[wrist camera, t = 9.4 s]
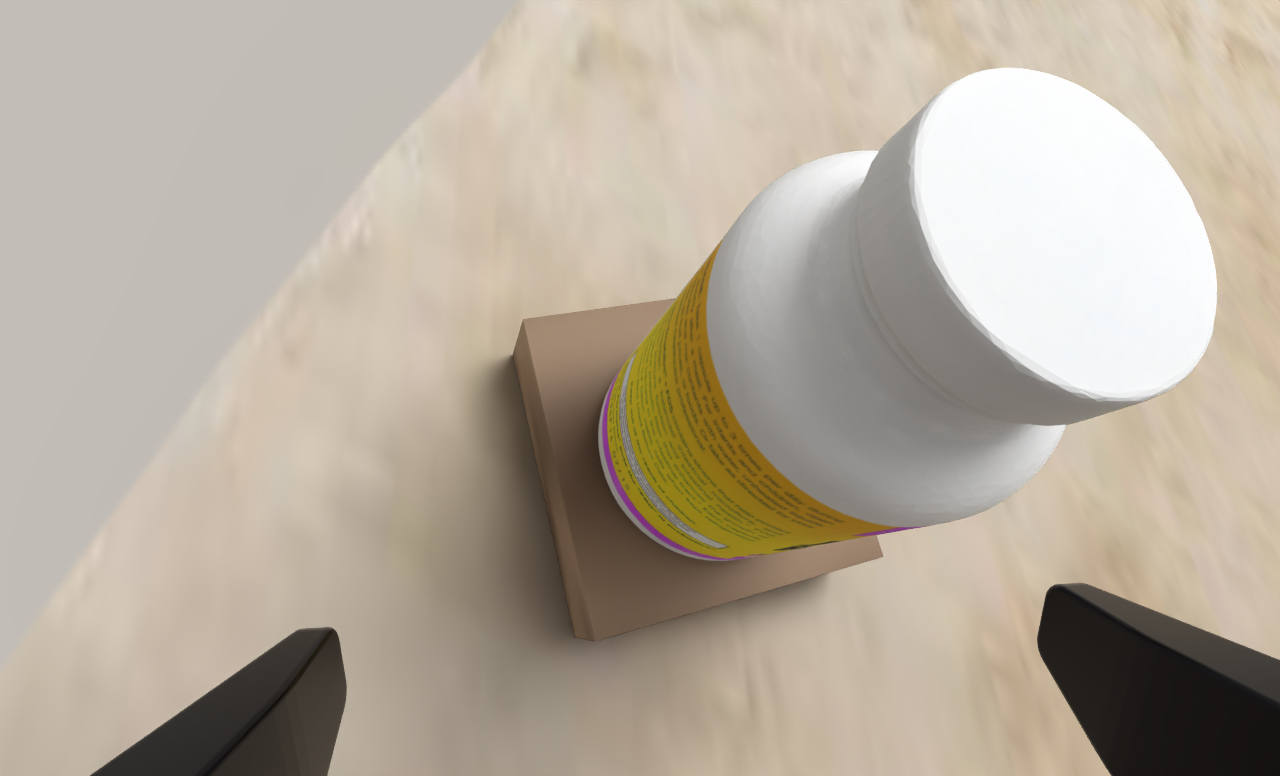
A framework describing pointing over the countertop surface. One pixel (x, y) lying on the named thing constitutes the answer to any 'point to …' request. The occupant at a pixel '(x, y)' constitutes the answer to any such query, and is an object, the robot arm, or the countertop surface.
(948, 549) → the countertop surface
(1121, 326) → the supplement bottle
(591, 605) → the walnut stand
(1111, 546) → the countertop surface
